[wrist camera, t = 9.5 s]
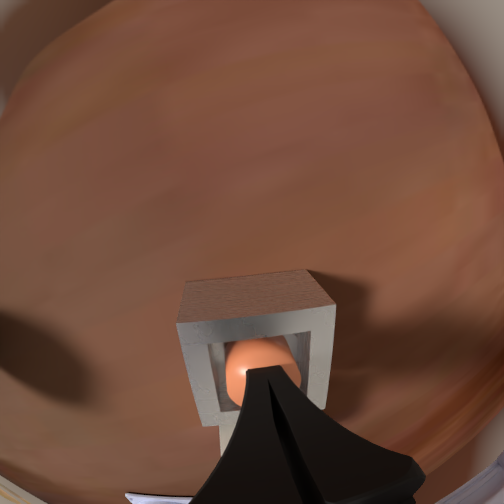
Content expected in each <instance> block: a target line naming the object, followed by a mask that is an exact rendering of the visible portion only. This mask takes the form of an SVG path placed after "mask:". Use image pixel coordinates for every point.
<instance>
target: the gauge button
mask: <svg viewBox="0 0 504 504" xmlns="http://www.w3.org/2000/svg"><path fill="white" fill-rule="evenodd" d="M224 358H225V371H226V384H227V392H228V395H229V397H230V398H231V399H232V400H233V401H234V402H235V403H236V404H237V405H239V406H242V402H243V397H244V392H245V385H246V371H247V370H248V369H253V368H261V367H268V366H275V365H280V366H282V368H283V369H284V371H285V372H286V373H287V375H288V376H289V377H290V378H291V380H292V381H293V382H294V383H295V384H296V386H297V387H298V388H299V387H300V384H301V374H300V371H299V369H298V367H297V364H296V362H295V359H294V357H293V355H292V352H291V350H290V347H289V345H288V343H287V340H286V339H285V337H284V336H283V335H279V336H272V337H265V338H257V339H249V340H240V341H231V342H229V343H228V344H227V346H226V348H225V353H224Z"/></svg>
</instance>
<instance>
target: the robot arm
mask: <svg viewBox="0 0 504 504" xmlns="http://www.w3.org/2000/svg"><path fill="white" fill-rule="evenodd" d="M425 478H426V476H425V474H424V472H423V471H422V469H421V468H420V466H419V465H418V464H417V463H416V462H415V461H414V459H413V458H412V457H410V456H407V455H403V454H400V453H397V452H394V451H390V450H388V449H385V448H383V447H380V446H378V445H376V444H373V443H371V442H369V441H368V440H366V439H364V438H362V437H360V436H358V435H356V434H354V433H352V432H351V431H349V430H348V429H346V428H345V427H343V426H341V425H340V424H339V423H337V422H336V421H334V420H333V419H332V418H330V417H329V416H328V415H327V414H325V413H324V412H323V411H322V410H321V409H319V408H318V407H317V406H316V405H315V404H314V403H313V402H312V401H311V400H310V399H309V398H308V397H307V396H306V395H305V394H304V393H303V392H302V391H301V390H300V389H299V388H298V387H297V386H296V384H295V383H294V382H293V381H292V380H291V378H290V377H289V376H288V375H287V373H286V372H285V371H284V369H283V368H282V366H280V365H275V366H268V367H261V368H253V369H248V370H247V371H246V385H245V392H244V397H243V402H242V406H241V410H240V413H239V416H238V419H237V423H236V426H235V428H234V431H233V433H232V436H231V438H230V440H229V443H228V445H227V447H226V449H225V451H224V453H223V455H222V457H221V458H220V460H219V462H218V464H217V465H216V467H215V469H214V470H213V472H212V473H211V475H210V476H209V478H208V479H207V481H206V482H205V484H204V485H203V486H202V488H201V489H200V490H199V491H198V492H197V494H196V495H195V496H194V497H164V496H150V495H140V494H131V493H126V494H125V497H126V498H127V499H128V500H129V501H130V502H132V503H133V504H415V503H416V501H415V499H414V498H413V494H414V493H415V492H416V491H417V490H418V489H419V488H420V487H421V485H422V484H423V483H424V481H425ZM434 504H504V451H503V452H502V453H501V454H500V455H499V456H498V458H497V460H495V461H494V462H493V463H492V464H491V465H489V466H488V467H487V468H486V469H484V470H483V471H482V472H481V473H479V474H478V475H477V476H475V477H474V478H473V479H471V480H470V481H468V482H467V483H466V484H464V485H463V486H461V487H460V488H458V489H457V490H456V491H454V492H452V493H451V494H449V495H447V496H446V497H444V498H443V499H441V500H439V501H438V502H436V503H434Z"/></svg>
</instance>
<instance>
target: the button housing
mask: <svg viewBox="0 0 504 504" xmlns="http://www.w3.org/2000/svg"><path fill="white" fill-rule="evenodd" d="M335 315H336V303H335V302H334V301H333V300H332V299H331V298H330V296H329V295H328V294H327V293H326V292H325V291H324V289H323V288H322V287H321V286H320V285H319V284H318V283H317V281H316V280H315V279H314V278H313V277H312V276H311V275H310V273H309V272H308V271H307V270H306V269H305V270H297V271H288V272H279V273H270V274H261V275H252V276H242V277H232V278H223V279H212V280H202V281H191V282H186V283H185V287H184V291H183V295H182V300H181V304H180V308H179V313H178V317H177V322H176V325H177V330H178V334H179V339H180V343H181V348H182V352H183V356H184V360H185V364H186V368H187V372H188V376H189V380H190V384H191V387H192V391H193V395H194V398H195V402H196V405H197V409H198V412H199V416H200V419H201V422H202V426H217V425H229V424H236V423H237V419H238V416H239V413H240V410H241V406H239V405H237V404H236V403H235V402H234V401H233V400H232V399H231V398H230V397H229V395H228V392H227V384H226V371H225V358H224V353H225V348H226V346H227V344H228V343H229V342H231V341H240V340H249V339H257V338H265V337H272V336H279V335H283V336H284V337H285V339H286V340H287V343H288V345H289V347H290V350H291V352H292V355H293V357H294V359H295V362H296V364H297V367H298V369H299V371H300V374H301V384H300V387H299V389H300V390H301V391H302V392H303V393H304V394H305V395H306V396H307V397H308V398H309V399H310V400H311V401H312V402H313V403H314V404H315V405H316V406H317V407H318V408H319V409H321V410H322V409H325V406H326V399H327V392H328V384H329V377H330V368H331V359H332V350H333V340H334V328H335Z"/></svg>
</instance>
